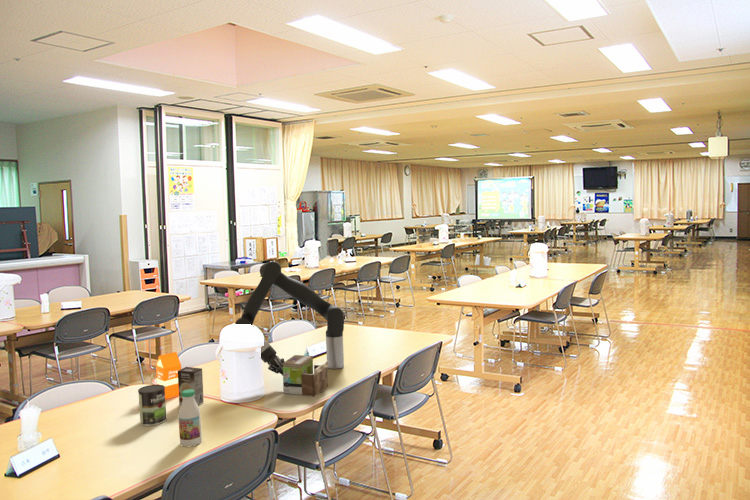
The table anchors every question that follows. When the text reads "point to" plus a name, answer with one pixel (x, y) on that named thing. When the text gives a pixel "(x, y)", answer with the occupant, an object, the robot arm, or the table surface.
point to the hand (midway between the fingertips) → (287, 377)
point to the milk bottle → (189, 420)
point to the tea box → (296, 373)
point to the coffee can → (152, 405)
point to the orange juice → (168, 373)
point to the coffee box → (191, 383)
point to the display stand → (315, 380)
